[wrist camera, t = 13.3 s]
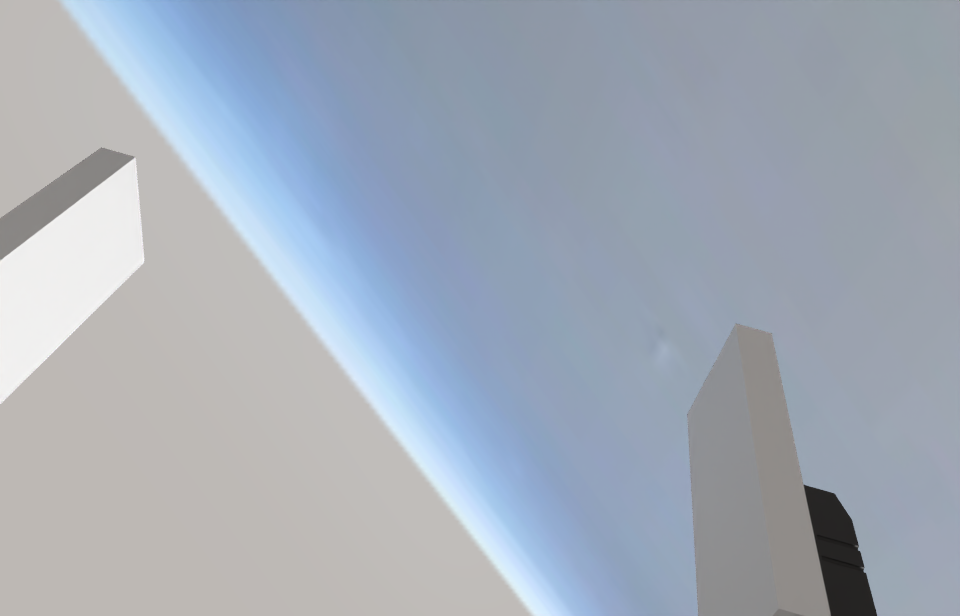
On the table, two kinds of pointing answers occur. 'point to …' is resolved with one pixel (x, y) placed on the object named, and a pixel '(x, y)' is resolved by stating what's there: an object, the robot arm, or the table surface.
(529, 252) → the table surface
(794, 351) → the table surface
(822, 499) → the robot arm
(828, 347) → the table surface
